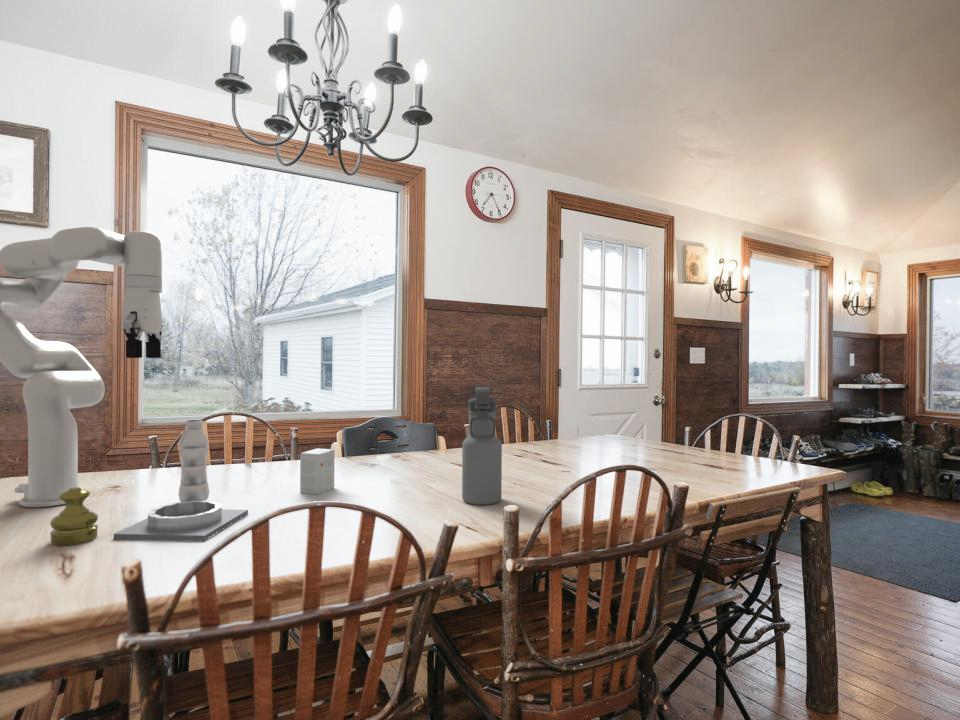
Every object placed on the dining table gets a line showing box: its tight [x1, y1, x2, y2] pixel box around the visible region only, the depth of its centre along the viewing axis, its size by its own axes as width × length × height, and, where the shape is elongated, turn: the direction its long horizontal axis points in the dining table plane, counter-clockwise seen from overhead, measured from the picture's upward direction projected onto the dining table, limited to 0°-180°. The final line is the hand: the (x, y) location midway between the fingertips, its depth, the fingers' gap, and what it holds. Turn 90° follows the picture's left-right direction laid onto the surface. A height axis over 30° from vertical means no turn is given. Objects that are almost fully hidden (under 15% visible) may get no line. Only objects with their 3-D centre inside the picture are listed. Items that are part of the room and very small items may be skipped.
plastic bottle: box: [178, 419, 210, 502], centre depth 133 cm, size 6×7×20 cm
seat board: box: [113, 508, 249, 542], centre depth 115 cm, size 18×18×1 cm
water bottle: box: [461, 386, 503, 506], centre depth 137 cm, size 10×10×28 cm
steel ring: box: [147, 500, 223, 531], centre depth 115 cm, size 13×13×2 cm
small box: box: [299, 448, 335, 495], centre depth 147 cm, size 8×6×10 cm
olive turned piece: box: [49, 486, 99, 547], centre depth 106 cm, size 7×7×10 cm
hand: (144, 357), depth 130 cm, fingers open, 9 cm apart
